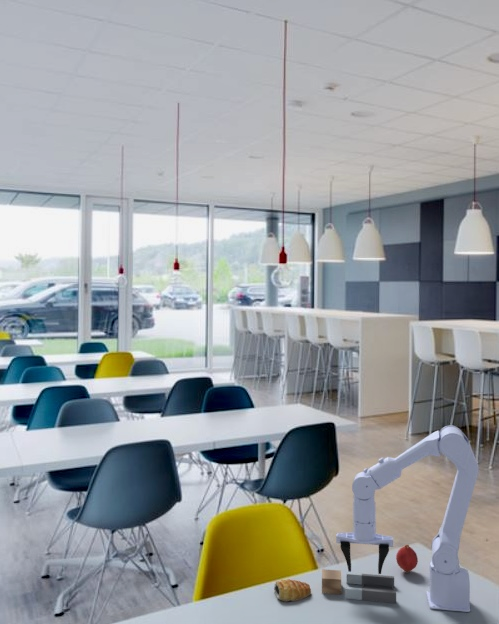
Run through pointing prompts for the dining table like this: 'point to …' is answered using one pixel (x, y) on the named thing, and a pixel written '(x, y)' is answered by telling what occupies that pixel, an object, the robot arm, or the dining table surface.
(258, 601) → the dining table surface
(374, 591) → the grey i-beam block
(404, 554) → the pomegranate
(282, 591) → the pastry
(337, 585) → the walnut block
